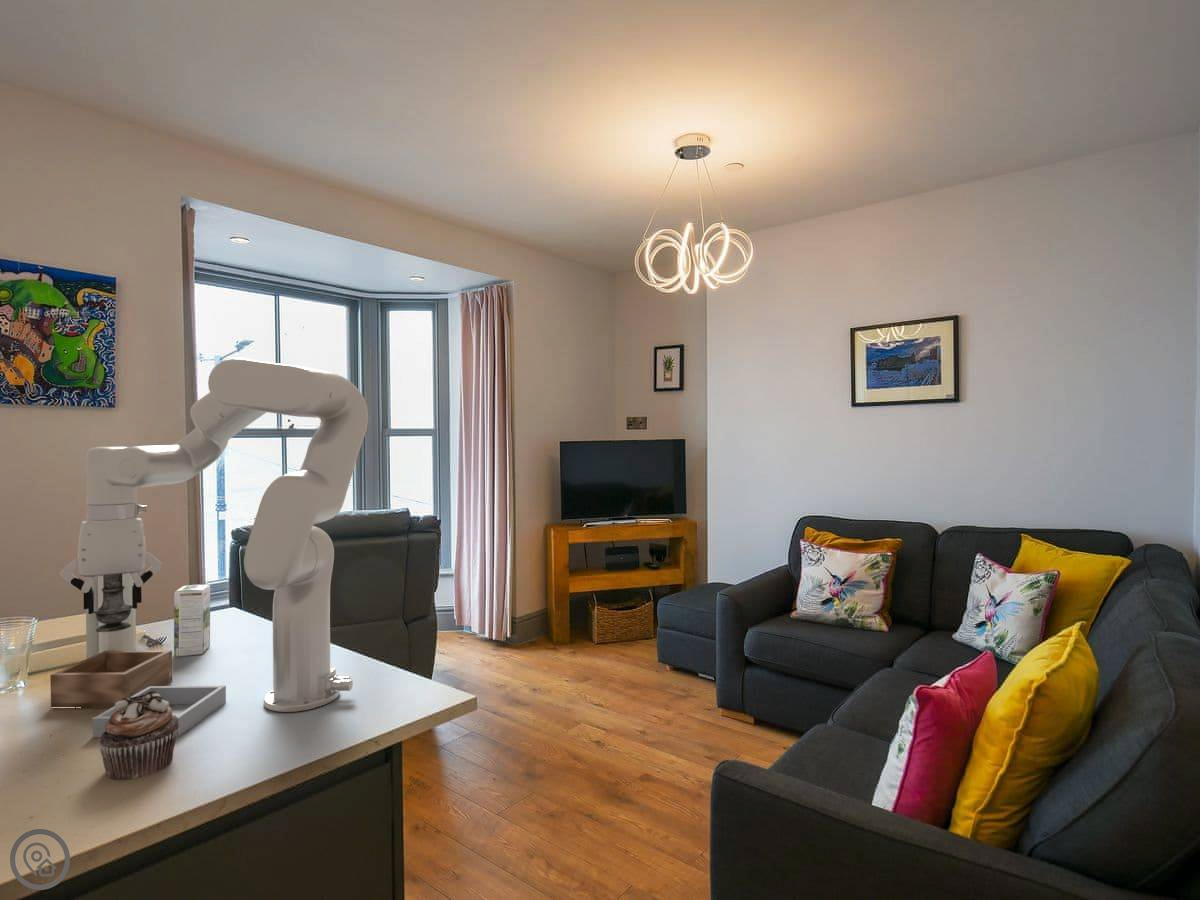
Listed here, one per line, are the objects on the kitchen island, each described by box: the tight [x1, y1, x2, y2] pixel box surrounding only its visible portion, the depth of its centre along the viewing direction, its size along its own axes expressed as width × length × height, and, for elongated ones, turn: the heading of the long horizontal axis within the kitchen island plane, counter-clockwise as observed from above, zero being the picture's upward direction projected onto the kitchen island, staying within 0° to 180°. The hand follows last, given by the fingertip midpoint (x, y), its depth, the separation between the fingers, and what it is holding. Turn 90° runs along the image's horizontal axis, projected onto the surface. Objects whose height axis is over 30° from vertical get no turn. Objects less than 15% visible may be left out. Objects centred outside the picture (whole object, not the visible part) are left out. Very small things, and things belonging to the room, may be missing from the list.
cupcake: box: [98, 691, 180, 781], centre depth 95 cm, size 10×10×10 cm
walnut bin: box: [49, 649, 173, 709], centre depth 122 cm, size 13×13×6 cm
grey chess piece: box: [94, 574, 132, 632], centre depth 121 cm, size 6×6×12 cm
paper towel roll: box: [84, 573, 137, 659], centre depth 131 cm, size 7×6×21 cm
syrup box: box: [173, 584, 211, 657], centre depth 146 cm, size 6×6×14 cm
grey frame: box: [91, 685, 227, 738], centre depth 111 cm, size 14×14×3 cm
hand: (113, 608), depth 121 cm, fingers closed on grey chess piece, 5 cm apart
